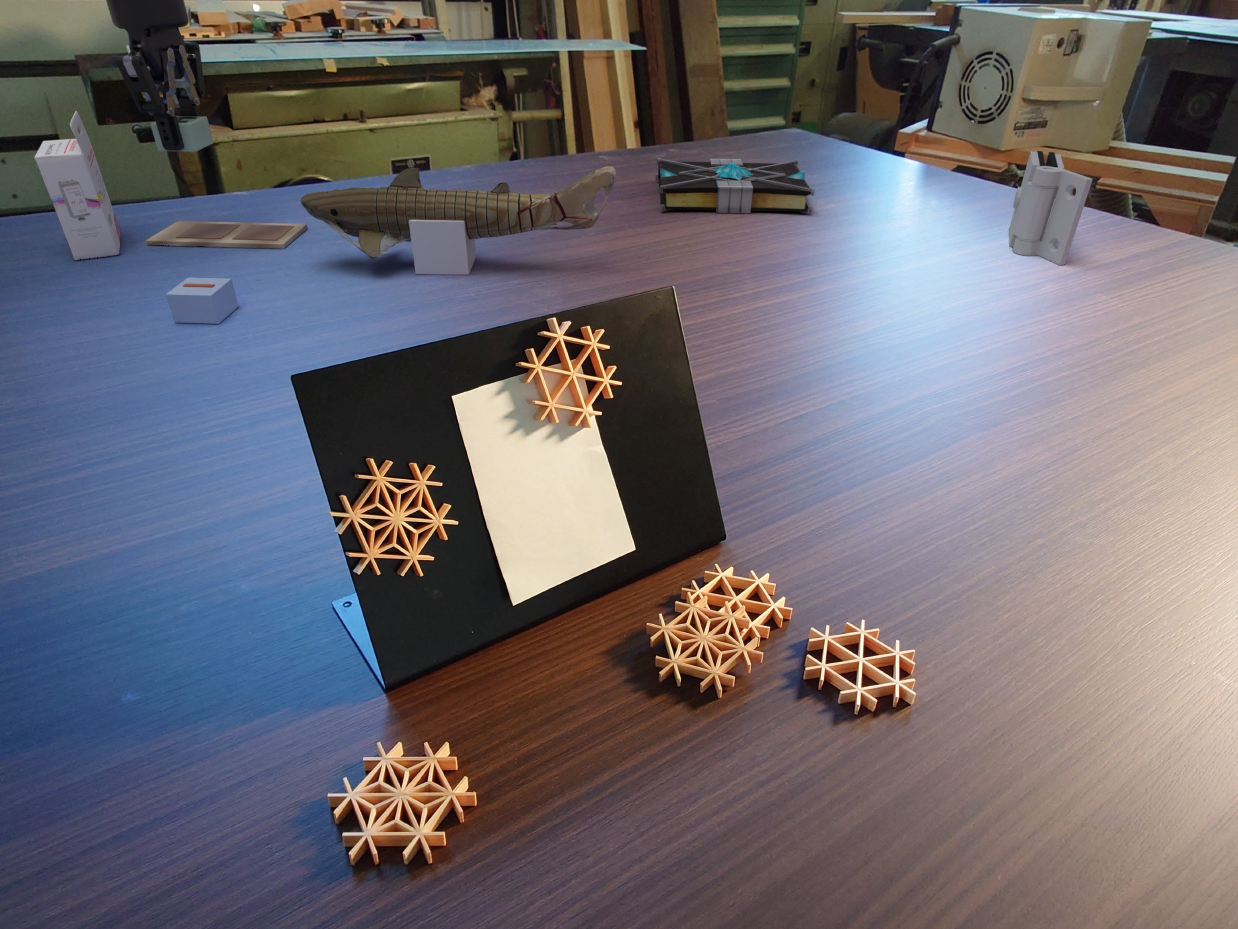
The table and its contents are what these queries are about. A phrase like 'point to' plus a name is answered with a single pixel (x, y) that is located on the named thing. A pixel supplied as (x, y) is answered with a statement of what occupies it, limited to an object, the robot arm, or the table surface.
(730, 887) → the table surface
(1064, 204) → the hinge
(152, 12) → the robot arm
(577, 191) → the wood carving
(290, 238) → the word board
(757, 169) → the book
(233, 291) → the tile
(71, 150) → the ink cartridge box
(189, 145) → the tile
